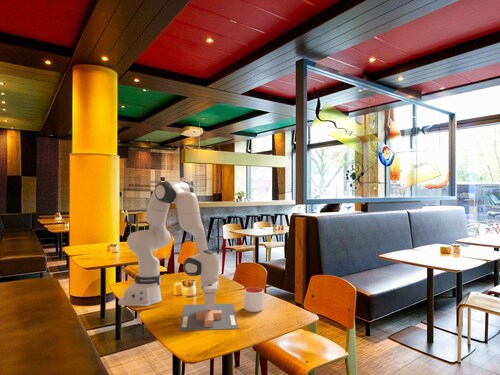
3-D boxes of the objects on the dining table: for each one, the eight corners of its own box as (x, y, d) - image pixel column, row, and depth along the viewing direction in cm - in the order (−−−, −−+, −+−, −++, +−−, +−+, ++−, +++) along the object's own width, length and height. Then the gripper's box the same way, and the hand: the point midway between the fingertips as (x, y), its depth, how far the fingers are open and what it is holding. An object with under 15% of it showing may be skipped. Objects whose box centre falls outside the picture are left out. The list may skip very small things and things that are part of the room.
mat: (178, 331, 138) (178, 329, 138) (184, 305, 170) (184, 304, 170) (238, 328, 142) (238, 327, 142) (233, 303, 173) (233, 302, 173)
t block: (195, 327, 142) (195, 320, 142) (196, 317, 154) (196, 310, 154) (222, 326, 143) (222, 319, 143) (221, 316, 155) (221, 310, 155)
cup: (261, 313, 160) (262, 293, 160) (242, 312, 162) (242, 292, 162) (264, 306, 170) (265, 288, 170) (246, 305, 172) (246, 286, 172)
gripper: (203, 278, 166) (202, 305, 166) (203, 290, 146) (202, 321, 146) (215, 278, 167) (215, 304, 167) (216, 290, 147) (216, 320, 146)
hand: (209, 312), depth 156 cm, fingers closed
